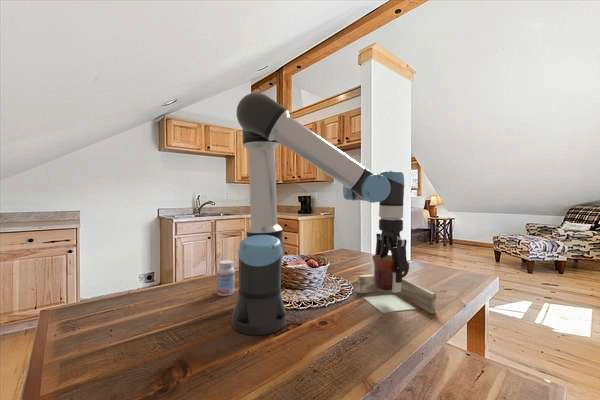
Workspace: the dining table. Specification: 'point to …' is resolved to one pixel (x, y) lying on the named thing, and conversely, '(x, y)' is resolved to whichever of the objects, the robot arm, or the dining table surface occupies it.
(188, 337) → the dining table surface
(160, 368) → the dining table surface
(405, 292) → the back wall
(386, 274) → the mug
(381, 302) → the pad
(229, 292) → the pill bottle
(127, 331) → the dining table surface
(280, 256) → the robot arm
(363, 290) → the side wall
